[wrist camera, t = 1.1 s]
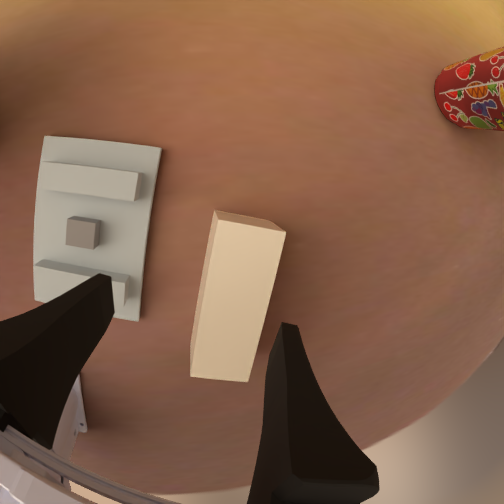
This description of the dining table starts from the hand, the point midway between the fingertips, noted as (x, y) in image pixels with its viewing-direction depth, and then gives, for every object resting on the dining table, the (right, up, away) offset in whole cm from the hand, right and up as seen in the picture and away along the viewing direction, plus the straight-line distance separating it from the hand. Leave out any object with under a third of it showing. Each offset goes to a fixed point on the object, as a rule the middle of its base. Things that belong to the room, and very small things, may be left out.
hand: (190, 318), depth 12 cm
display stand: (-11, +5, +10) cm, 15 cm away
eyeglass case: (0, 0, +14) cm, 14 cm away
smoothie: (+23, +19, +13) cm, 33 cm away
